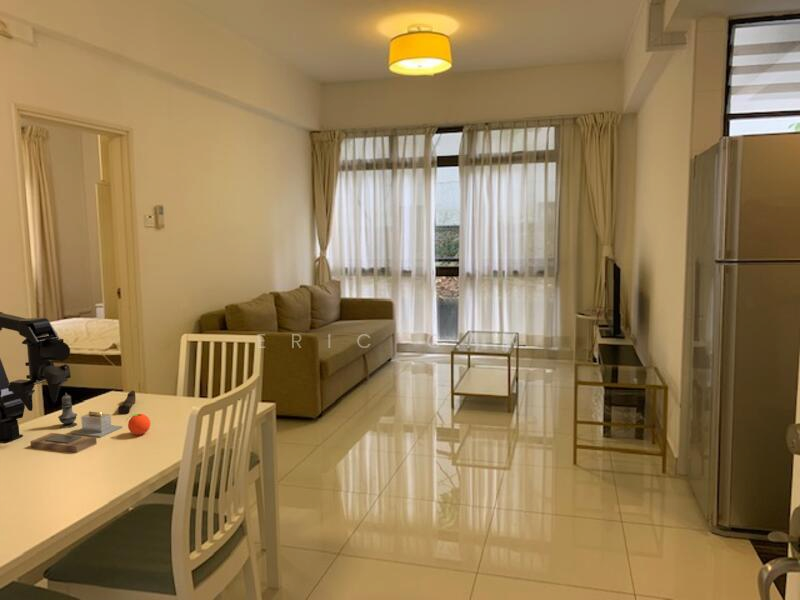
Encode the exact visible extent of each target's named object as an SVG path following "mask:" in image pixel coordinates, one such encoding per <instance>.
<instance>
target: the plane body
mask: <svg viewBox="0 0 800 600" xmlns="http://www.w3.org/2000/svg"><path fill="white" fill-rule="evenodd" d="M94 445H97V437H91V436H82V435H73V434H64V433H55V432H50V433H47V434H45V435H43V436H40V437H38V438H35V439H32V440H30V448H33V449H34V448H35V449H42V450H51V451H57V452H58V451H59V452H67V453H75V454H77V453H79V452H82V451H84V450H87V449H88V448H91V447H92V446H94Z"/></svg>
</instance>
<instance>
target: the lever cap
mask: <svg viewBox="0 0 800 600" xmlns="http://www.w3.org/2000/svg"><path fill="white" fill-rule="evenodd" d="M80 418H81V428H82V431H89V432H99V433H102V432H105V431H107V430H109V429H111V425H112V416H111V414H109V413H104V412H99V411H89V412H88V413H87V414H84V415H81V417H80Z"/></svg>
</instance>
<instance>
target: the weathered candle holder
mask: <svg viewBox="0 0 800 600" xmlns="http://www.w3.org/2000/svg"><path fill="white" fill-rule="evenodd" d="M73 406H74V405H73V404H72V396H71V395H69V394H68V393H67V392H65V393H64V395H63V396H61V405H60V407H61V410H62V413H61V415H58V419H59V422H60V423H61V425H60V426H59V427H60V429H68V428H69V429H70V428H73V427H76V426H77V425H78V423H76V422H75V421H76V419H77V416H78V413H74V412H73Z"/></svg>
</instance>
